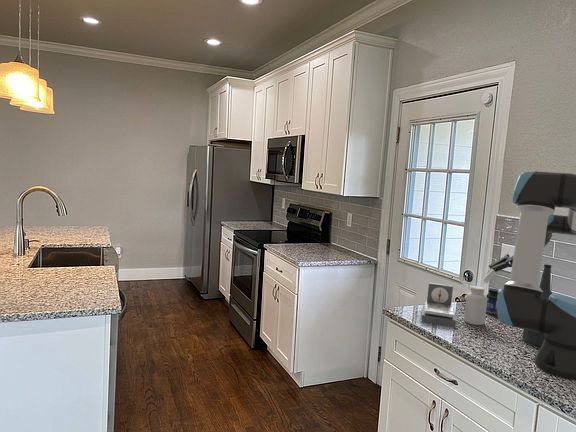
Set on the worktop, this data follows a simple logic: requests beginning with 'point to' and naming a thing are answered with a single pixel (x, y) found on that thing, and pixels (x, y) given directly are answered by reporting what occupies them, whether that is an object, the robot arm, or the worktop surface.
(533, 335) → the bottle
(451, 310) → the gray flat rectangular slab
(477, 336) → the worktop surface
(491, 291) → the pill bottle
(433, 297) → the scale
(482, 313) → the pill bottle
